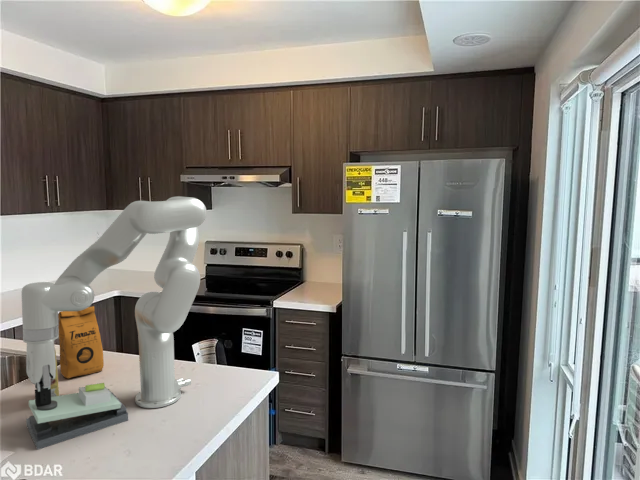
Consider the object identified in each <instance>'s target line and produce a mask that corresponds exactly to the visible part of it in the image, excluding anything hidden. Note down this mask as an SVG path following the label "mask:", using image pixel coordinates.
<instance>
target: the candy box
mask: <svg viewBox="0 0 640 480" xmlns="http://www.w3.org/2000/svg"><path fill="white" fill-rule="evenodd" d="M55 363H56V376H55V379H54V380H52V379H51V397H54V396H60V389H59V388H60V387H59V386H60V385H59V375H58V374H59V373H58V372H59V371H58V360H57V353H56V350H55Z"/></svg>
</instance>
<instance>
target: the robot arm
mask: <svg viewBox="0 0 640 480" xmlns="http://www.w3.org/2000/svg"><path fill="white" fill-rule="evenodd" d="M206 218H207V207H206V205H205V204H204V202H203V201H201V200H200V199H198V198H197V197H189V196H180V195H178V196H172V197H169V198H168V199H166V200H163V201H162V200H160V201H159V200H158V201H157V200H156V201H150V200H149V201H148V200H135V201H133V202H132V201H131V202H130V204H128V205H127V206H126V207H125V208H124V209H123V210H122V212H121V213H120V214H119V215H118V216H117V217H116V218H115V219H114V221H113V222H112V223H111V225H109V227H107V229H106V230H105V231H104V232H103V233H102V234H101V236H99V238H98V239H97V240H96V241H95V242H93V243H92V244H91V245H89V246H88V248H86V249H85V250H84V251H83V252H81V253H80V254H79V255H77V257H76V258H75V259H74V260H73V261H72V262H71V263H70V264H69V265H68V266H67V267H66V269H65V270H63V272H62V273H61V274H60V275H59V276H58V278H57V279H56V280H55V282H49V281H48V282H47V281H39V282H32V283H28V284H25V285H23V287H22V289H21V316H22V317H21V318H22V341H23V343H26V363H25V364H26V365H25V366H26V369H25V371H26V375H27V376H28V379H29V380H30V382H31V383H32V384H34V387H35V388H34V400H35V404H36V406H37V407H39V406H44V405H48V404H51V379H52V380H54V379H55V376H56V363H55V351H56V347H55V346H56V345H55V340H57V339H59V318H58V316H59V312H61V311H81V310H84V309H86V308H88V307H91V305H92V304H93V302H94V300H95V292H94V289H93V288H92V286H90V285H91V283H92V282H94V280H95V279H96V278H97V277H98V275H100V274H101V273H102V272H104V271H105V270H106V269H108V268H111V267H113V266H115V265H117V264H120V263H122V262H124V261H125V260H126V259H127V258H128V257H129V256H130V254H132V252H133V251H134V250H135V248H137V246H138V245H139V244H140V242H141V241H142V240H143V239H144V238H145V237H146V235H147V234H148V235H149V234H150V235H151V234H152V235H153V234H154V235H155V234H164V233H165V234H166V233H169V238H168V241H167V244H166V247H165V249H164V251H163V252H162V253H163V254H162V255H161V258H160V259H159V261H158V264H157V266H156V269H155V271H154V276H153V277H154V282H155V283H156V285H158V286H159V287H160V289H162V291H161V292H159V291H149V292H146V293H144V294H142V295H141V296H140V297H139V298H138V300H137V301H136V304H135V307H134V318H135V322H136V323H135V324H136V329H137V335H138V336H137V337H138V338H137V339H138V355H139V356H138V357H139V381H140V391H139V392H138V393H137V394H136V395H135V398H134V399H135V400H134V401H135V404H136V405H137V406H139V407H141V408H145V409H159V408H163V407H167V406H169V405H173V404H174V403H176V402H178V400H179V399H180V398H181V396H182V393H181V389H182V388H183V387H188V386H191V385H192V380H191V379H190V378H187V379H186V378H185V379H184V378H183V377H180V378H177V379H176V378H175V377H176V375H175V374H176V371H175V369H176V368H175V340H174V339H175V338H174V337H175V336H174V333H175V332H176V331H177V330H180V328H181V326H182V325H184V322H185V321H186V319H187V316H188V314H189V312H190V310H191V308H192V305H193V303H194V301H195V298H196V296H197V294H198V291H199V288H200V284H201V274H200V270H199V269H198V267H197V266H196V265H195V264H193V262H194V259H195V256H196V255H197V254H196V253H197V250H198V248H199V243H200V232H199V226H201V225H202V224H203V223H204V222H205V221H206Z"/></svg>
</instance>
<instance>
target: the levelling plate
mask: <svg viewBox="0 0 640 480" xmlns="http://www.w3.org/2000/svg"><path fill="white" fill-rule="evenodd" d="M113 394H114V392H112V391H111V390H110V389H109V388H107V386H106V385H105V382H101V383H94V384H93V383H91V384H87V385H85V386H81V387H78V392H75V393H68V394H62V395H60V394H59V396H54V397H51V404H48V405H44V406H39V407H37V406H36V404H35V399H30V400H28V407H29V409H30V411H31V413H32V416H33V415H34V417H35V419H36V421H37V423H38V424H39V423H44V422H49V421H54V420H60V419H65V418H70V417H76V416H81V415H86V414H91V413H97V412H102V411H107V410H113V409H118V408H121V406H122V404H123V402H122V401H121V400H120V399H119V398H118V397H117V396H116V395H115V394H114V395H115V396H116V397H117V398H118V399H119V400H120V401H121V402H122V403H121V402H120V401H119V400H118V399H117V398H116V397H115V396H114V395H113Z"/></svg>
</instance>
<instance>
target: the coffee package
mask: <svg viewBox="0 0 640 480" xmlns="http://www.w3.org/2000/svg"><path fill="white" fill-rule="evenodd" d="M58 328H59V337H58V340H59V344H58V345H59V368H60V374H61V375H62V376H63V378H66V379H71V378H76V377H80V376H85V375H91V374H94V373H98V372H102V371H103V369H104V366H105V363H104V349H103V344H102V339H101V338H102V337H101V333H100V330H99V329H100V327H99V325H98V320H97V317H96V313H95V306H94V305H93V306H89V307H88V308H86V309H84V310H81V311H58Z"/></svg>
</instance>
